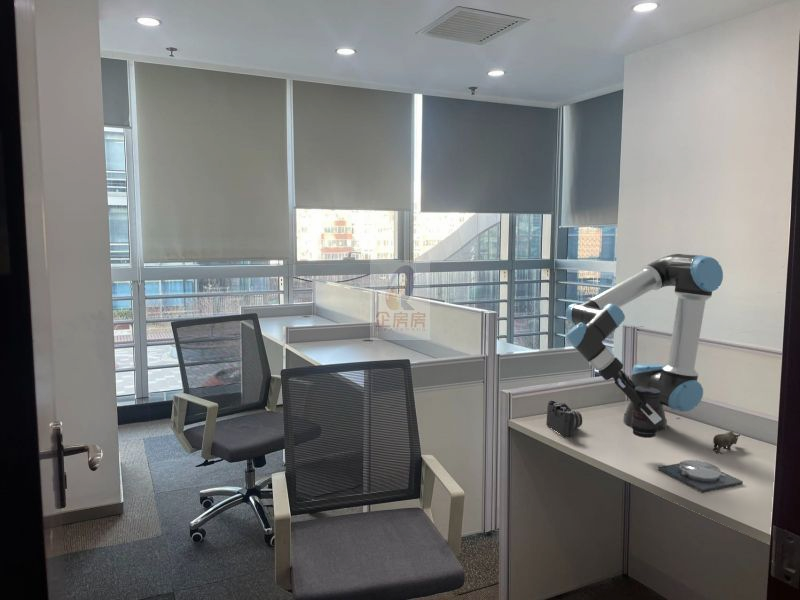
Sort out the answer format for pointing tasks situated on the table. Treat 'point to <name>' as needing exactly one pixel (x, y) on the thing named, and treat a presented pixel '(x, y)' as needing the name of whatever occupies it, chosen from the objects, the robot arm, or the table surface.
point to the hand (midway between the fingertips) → (656, 416)
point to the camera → (562, 418)
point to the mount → (700, 475)
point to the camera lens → (639, 420)
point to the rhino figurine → (724, 441)
